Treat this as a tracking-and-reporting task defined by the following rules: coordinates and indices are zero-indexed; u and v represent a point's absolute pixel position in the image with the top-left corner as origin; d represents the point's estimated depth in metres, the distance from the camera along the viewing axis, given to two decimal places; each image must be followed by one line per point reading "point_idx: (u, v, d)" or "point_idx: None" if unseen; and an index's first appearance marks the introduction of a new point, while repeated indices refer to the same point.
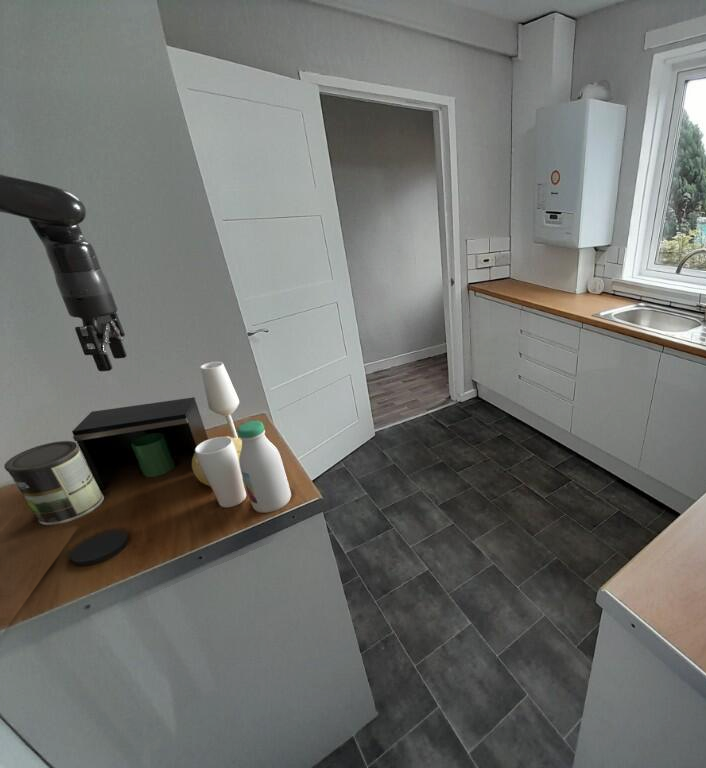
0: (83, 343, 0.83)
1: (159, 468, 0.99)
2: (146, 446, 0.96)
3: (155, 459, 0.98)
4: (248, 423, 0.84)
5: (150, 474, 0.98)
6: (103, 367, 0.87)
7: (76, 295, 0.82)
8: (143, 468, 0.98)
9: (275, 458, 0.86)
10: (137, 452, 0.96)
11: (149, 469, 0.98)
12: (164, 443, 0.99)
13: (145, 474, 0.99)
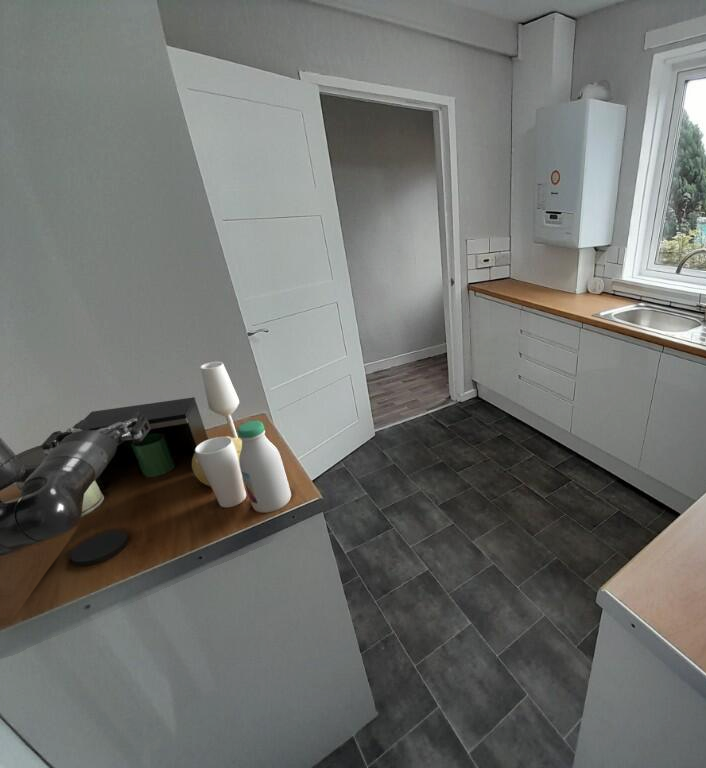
0: None
1: (159, 468, 0.99)
2: (146, 446, 0.96)
3: (155, 459, 0.98)
4: (248, 423, 0.84)
5: (150, 474, 0.98)
6: None
7: None
8: (143, 468, 0.98)
9: (275, 458, 0.86)
10: (137, 452, 0.96)
11: (149, 469, 0.98)
12: (164, 443, 0.99)
13: (145, 474, 0.99)
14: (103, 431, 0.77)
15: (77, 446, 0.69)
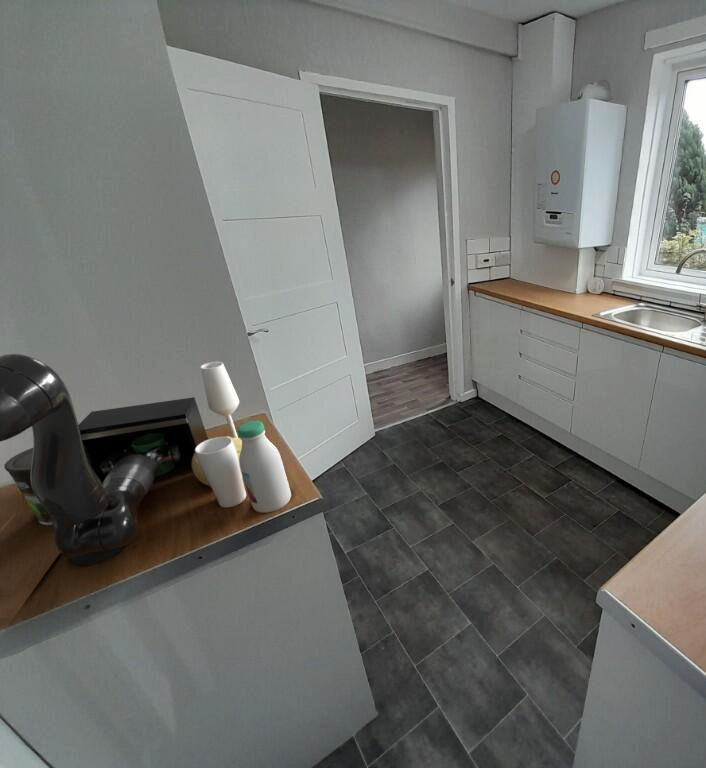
0: None
1: (159, 468, 0.99)
2: (147, 446, 0.96)
3: None
4: (248, 423, 0.84)
5: None
6: None
7: None
8: None
9: (275, 458, 0.86)
10: (137, 452, 0.96)
11: None
12: None
13: None
14: (147, 454, 0.93)
15: (130, 468, 0.85)
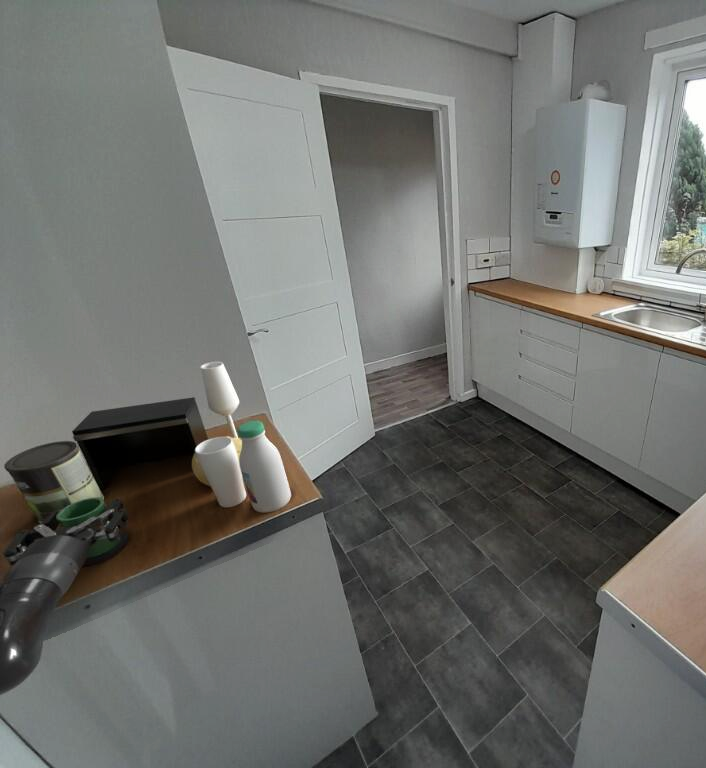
0: None
1: (96, 545, 0.75)
2: (77, 520, 0.72)
3: None
4: (248, 423, 0.84)
5: None
6: None
7: None
8: None
9: (275, 458, 0.86)
10: None
11: None
12: (103, 512, 0.76)
13: None
14: (74, 531, 0.69)
15: (41, 561, 0.61)
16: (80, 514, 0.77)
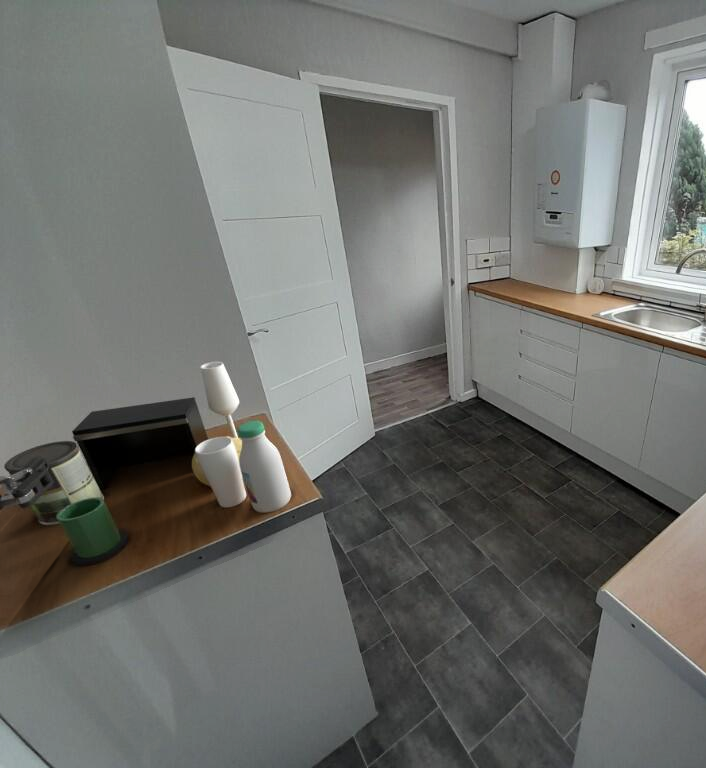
0: None
1: (96, 545, 0.75)
2: (77, 520, 0.72)
3: (89, 535, 0.74)
4: (248, 423, 0.84)
5: (84, 554, 0.75)
6: None
7: None
8: (74, 546, 0.74)
9: (275, 458, 0.86)
10: (64, 527, 0.72)
11: (82, 548, 0.74)
12: (103, 512, 0.76)
13: (78, 553, 0.75)
14: None
15: None
16: (80, 514, 0.77)
